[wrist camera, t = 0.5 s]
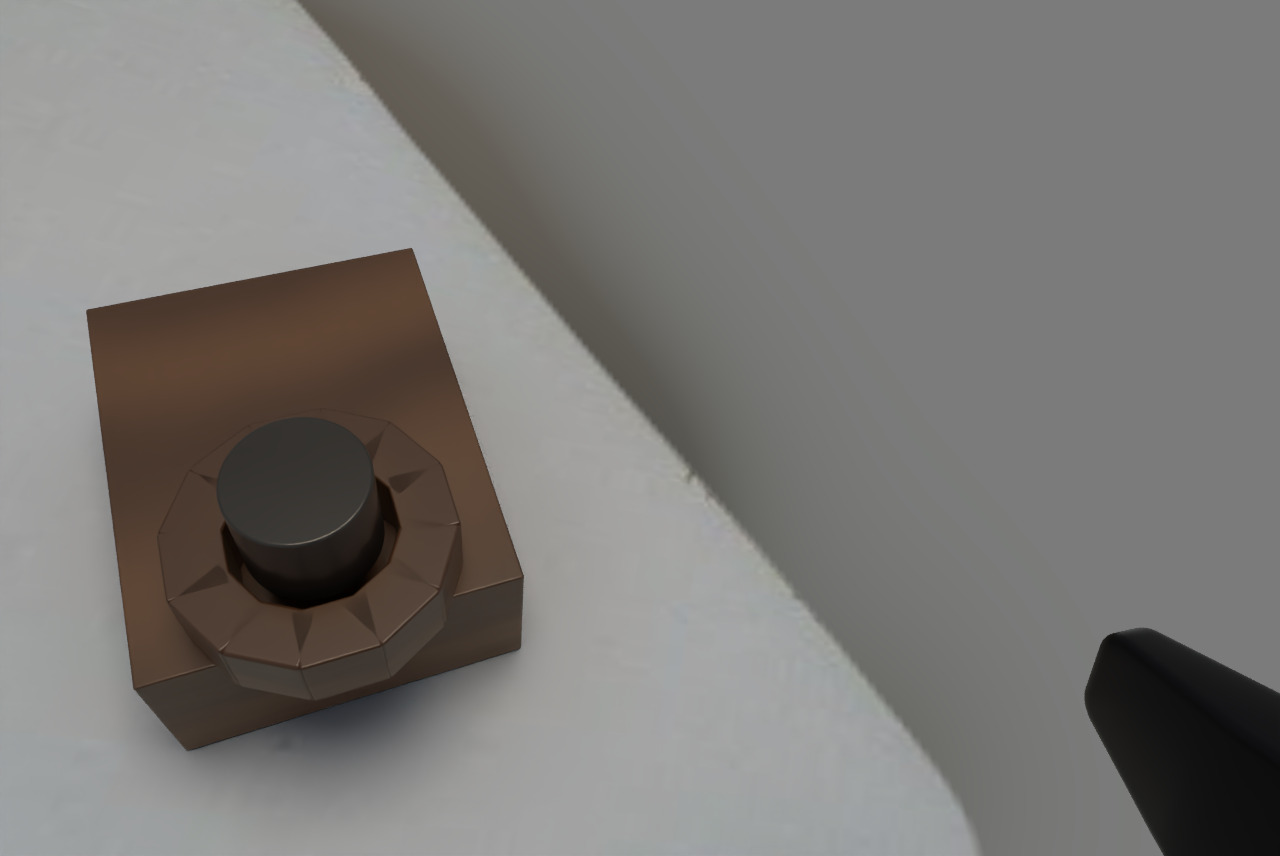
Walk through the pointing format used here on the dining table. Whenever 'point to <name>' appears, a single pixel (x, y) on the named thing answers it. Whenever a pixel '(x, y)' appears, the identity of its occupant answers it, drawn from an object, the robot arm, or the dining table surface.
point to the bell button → (302, 507)
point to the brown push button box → (201, 541)
